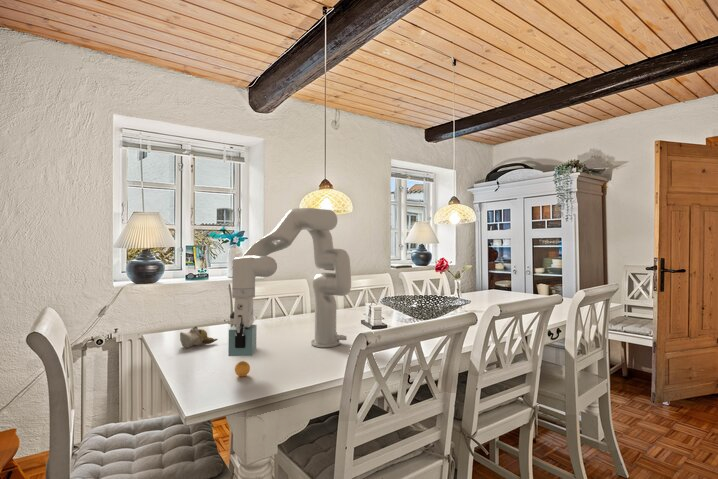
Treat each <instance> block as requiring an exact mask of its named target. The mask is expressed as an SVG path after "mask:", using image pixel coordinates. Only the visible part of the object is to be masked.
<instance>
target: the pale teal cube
mask: <svg viewBox="0 0 718 479" xmlns="http://www.w3.org/2000/svg"><path fill="white" fill-rule="evenodd" d="M257 326H258V325H257V324H252V325H251V326H250V327H249V328H247V327H245V334H244V336H245V348H235V333H236V328H235V327H234V325H233V326H232V327H231V326H230V328H229V329H228V357H253V356H254V354H255V353H256V352H257V332H258V331H257ZM242 331H243V329H242Z"/></svg>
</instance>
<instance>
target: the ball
mask: <svg viewBox="0 0 718 479" xmlns="http://www.w3.org/2000/svg"><path fill="white" fill-rule="evenodd" d="M250 369H251V366H250V364H249V363H248V362H247V361H244V360H241V361H239V362H238V363H236V365H235V367H234V372H235V374H236V375H237V376H238V377H245V376H247V375H248V374H249V373H250V371H251V370H250Z"/></svg>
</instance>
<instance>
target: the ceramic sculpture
mask: <svg viewBox="0 0 718 479" xmlns="http://www.w3.org/2000/svg"><path fill="white" fill-rule="evenodd" d="M207 332H208V331H206V330H205V329H203V328H198V326H194V327H192V328H191V329H189V332H181V331H180V333H179V340H180V343H181V344H180V345H181V346H182V347H183V348H184V349H190V348H191V347H192V346H194V347H199V346H203V345H210V344H212V343H213V344H214V342H216V341H218V340H219V339H218V338H214V337H209V336H208V333H207Z"/></svg>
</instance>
